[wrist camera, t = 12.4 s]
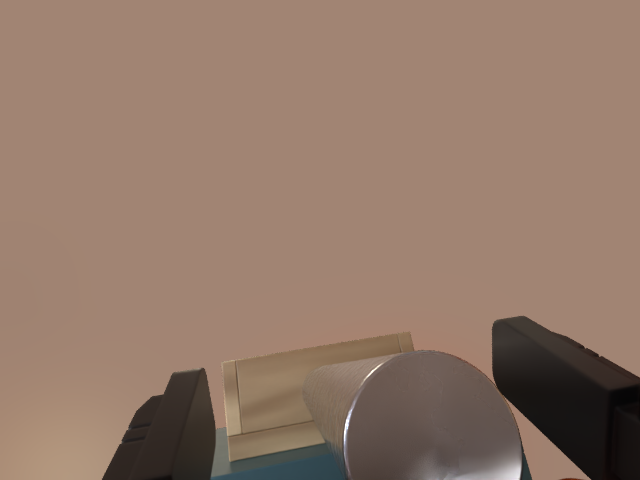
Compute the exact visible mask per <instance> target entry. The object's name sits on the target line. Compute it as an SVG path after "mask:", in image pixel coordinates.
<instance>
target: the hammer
mask: <svg viewBox="0 0 640 480" xmlns="http://www.w3.org/2000/svg"><path fill="white" fill-rule="evenodd" d="M222 376H223V389H224V402H225V414H226V426H227V436H229V437H228V452H229V461H230V462H233V461H238V460H243V459H248V458H253V457H258V456H263V455H268V454H273V453H278V452H284V451H289V450H294V449H299V448H304V447H309V446H314V445H319V444H324V443H326V444H327V446H328V448H329V450H330V452H331V454H332V456H333V458H334V460H335V461H336V463H337V465H338V467H339V469H340V471H341V473H342V475H343V477H344V479H345V480H522V476H523V449H522V441H521V437H520V433H519V429H518V426H517V423H516V420H515V417H514V415H513V413H512V411H511V409H510V407H509V405H508V403H507V402H506V400H505V398H504V397H503V395H502V393H501V392H500V391H499V390H498V388H497V387H496V386H495V384H494V383H493V382H492V381H491V380H490V379H489V378H488V377H487V376H486V375H485V374H484V373H482V372H481V371H480V370H479V369H477V368H476V367H475V366H473V365H472V364H470V363H468V362H467V361H465V360H463V359H461V358H459V357H456V356H454V355H451V354H447V353H444V352H439V351H430V350H421V351H414V348H413V343H412V339H411V334H410V332H403V333H398V334H391V335H385V336H379V337H373V338H367V339H360V340H354V341H348V342H342V343H336V344H330V345H324V346H318V347H312V348H305V349H300V350H294V351H288V352H281V353H275V354H269V355H263V356H257V357H251V358H244V359H239V360H232V361H226V362H222Z"/></svg>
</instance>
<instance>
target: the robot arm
mask: <svg viewBox="0 0 640 480" xmlns="http://www.w3.org/2000/svg"><path fill="white" fill-rule="evenodd" d="M492 365H493V366H492V369H493V377H494V381H495V383H496V386H497V388H498V389H499V391H500V392H501V393H502V395H504V397H505V398H506V399H508V401H510V402H511V403H512V404H513V405H514V406H515V407H516V408H517V409H518V410H519V411H520V412H521V413H522V414H523V415H524V416H525V417H526V418H527V419H528V420H529V421H531V422H532V423H533V424H534V425H535V426H536V427H537V428H538V429H539V430H540V431H541V432H542V433H543V434H544V435H545V436H546V437H547V438H548V439H549V440H550V441H551V442H552V443H554V444H555V445H556V446H557V447H558V448H559V449H560V450H561V451H562V452H563V453H564V454H565V455H566V456H567V457H568V458H569V459H570V460H571V461H572V462H573V463H574V464H575V465H576V466H578V467H579V468H580V469H581V470H582V471H583V472H584V473H585V474H586V475H587V476H588V477H589V478H590V479H591V480H640V378H639V377H638V376H636V375H634V374H632V373H631V372H629V371H627V370H625V369H623V368H622V367H620V366H618V365H616V364H615V363H613V362H611V361H609V360H608V359H605V358H604V357H602V356H601V357H599V356H598V354H597V353H595V352H593V351H592V350H590V349H588V348H586V349H585V348H584V346H583V345H581V344H579V343H577V342H576V341H574V340H572V339H570V338H568V337H566V336H563V335H560V334H557V333H554V332H551V331H549V330H548V329H546V328H544V327H543V326H541V325H539V324H537V323H536V322H534V321H532V320H530V319H529V318H527V317H525V316H518V317H512V318H506V319H500V320H496V321H495V322H494V324H493V327H492ZM215 447H216V429H215V420H214V414H213V409H212V404H211V398H210V392H209V386H208V381H207V375H206V372H205V369H204V368H199V369H192V370H187V371H180V372H174V373H173V374H172V376H171V379H170V381H169V383H168V385H167V388H166V390H165V392H164V395H158V396H152V397H151V398H150V399H149V400H148V401H147V402H146V403H145V404H143V405H142V406H141V407H140V408H139V409H138V410H137V411H136V413H135V415H134V417H133V419H132V421H131V423H130V425H129V429H128V430H127V431H126V433H125V435H124V437H123V439H122V444H120V445H119V447H118V449H117V451H116V453H115V455H114V457H113V459H112V461H111V463H110V464H109V466H108V468H107V470H106V473H105V474H104V476H103V478H102V480H210V479H211V472H212V466H213V460H214V454H215Z"/></svg>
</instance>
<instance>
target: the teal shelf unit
mask: <svg viewBox="0 0 640 480" xmlns="http://www.w3.org/2000/svg"><path fill="white" fill-rule="evenodd" d="M228 437H229V436H227V427H224V428H219V429H217V430H216V447H215V454H214V460H213V466H212V472H211V479H210V480H345V479H344V477H343V475H342V473H341V471H340V469H339V467H338V465H337V463H336V461H335V460H334V458H333V456H332V454H331V452H330V450H329V448H328V446H327V444H326V443H324V444H319V445H314V446H309V447H304V448H299V449H294V450H289V451H284V452H278V453H273V454H268V455H263V456H258V457H253V458H248V459H243V460H238V461H233V462H230V461H229V452H228ZM522 449H523V446H522ZM522 480H532V478H531V474H530V471H529V467H528V464H527V460H526V457H525V454H524V450H523V476H522Z"/></svg>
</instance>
